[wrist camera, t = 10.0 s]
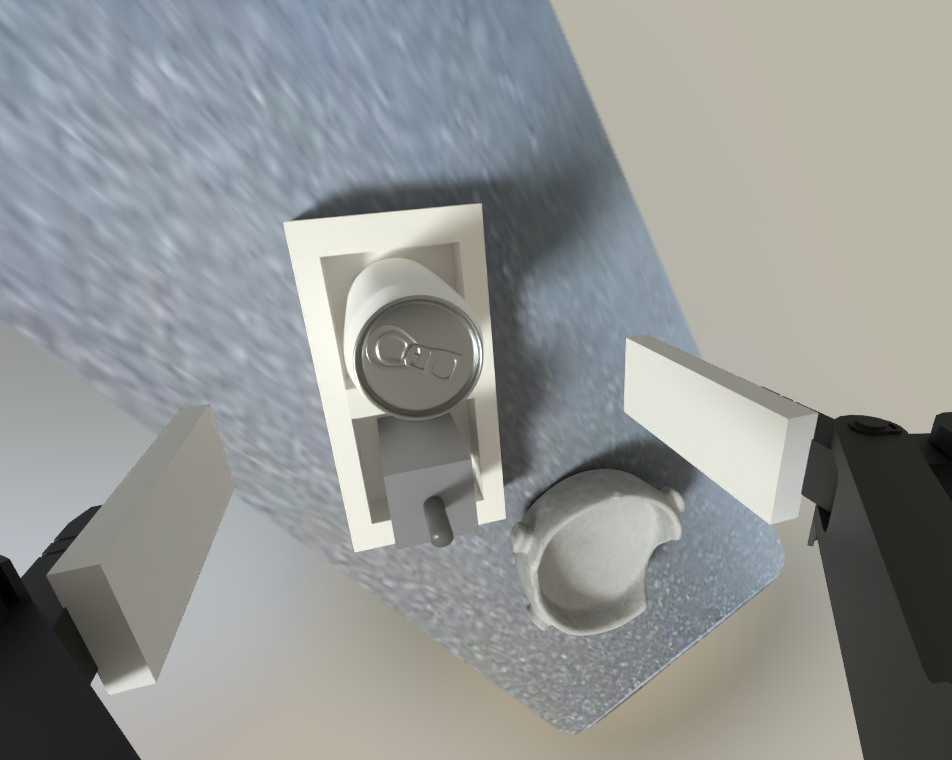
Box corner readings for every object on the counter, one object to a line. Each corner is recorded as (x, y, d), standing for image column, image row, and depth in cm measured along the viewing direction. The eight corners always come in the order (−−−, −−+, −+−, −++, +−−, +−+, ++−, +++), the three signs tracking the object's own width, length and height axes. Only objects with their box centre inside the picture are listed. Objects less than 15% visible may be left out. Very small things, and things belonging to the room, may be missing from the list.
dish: (661, 452, 42) (699, 482, 37) (643, 580, 47) (675, 620, 42) (501, 473, 39) (520, 509, 34) (499, 608, 43) (516, 655, 39)
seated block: (376, 418, 34) (386, 507, 24) (446, 406, 35) (484, 487, 25) (387, 479, 36) (401, 586, 26) (453, 466, 37) (491, 564, 26)
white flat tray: (290, 220, 29) (283, 222, 26) (468, 203, 31) (481, 203, 28) (354, 522, 37) (354, 552, 34) (493, 493, 39) (505, 518, 36)
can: (366, 240, 30) (373, 259, 19) (460, 279, 32) (516, 317, 21) (332, 336, 31) (321, 406, 20) (425, 367, 33) (460, 445, 22)
